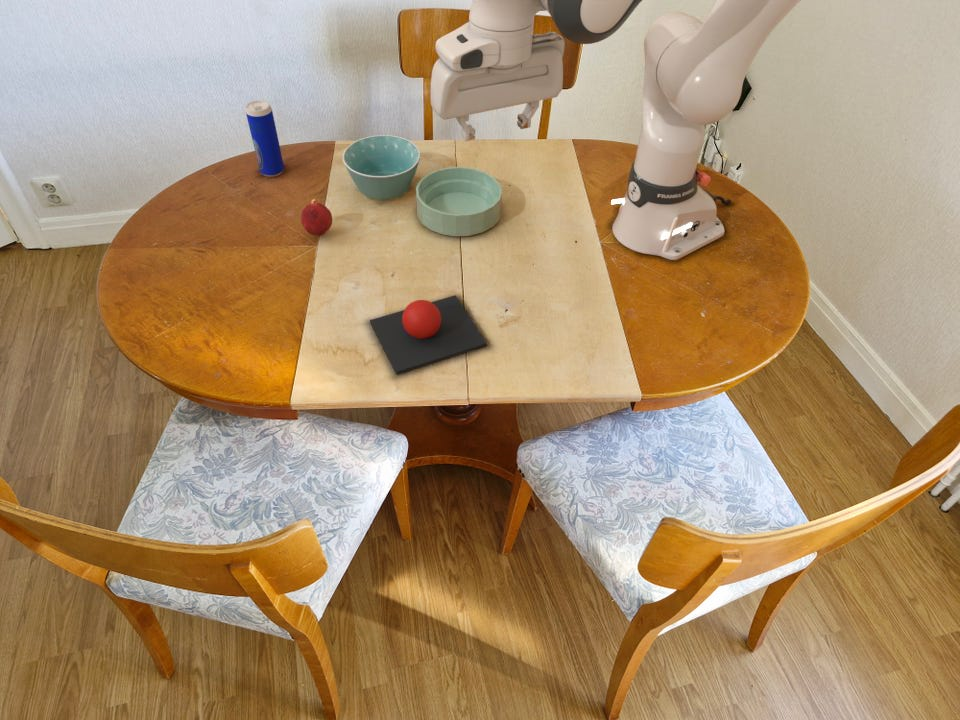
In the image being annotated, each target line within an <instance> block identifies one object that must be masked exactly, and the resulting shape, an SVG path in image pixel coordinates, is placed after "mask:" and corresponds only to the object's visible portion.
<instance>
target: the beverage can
mask: <svg viewBox="0 0 960 720" xmlns="http://www.w3.org/2000/svg"><path fill="white" fill-rule="evenodd" d="M245 115H246V119H247V123H248V127H249V132H250V137H251V140H252V144H253V149H254V152H255V157H256V161H257V165H258V169H259V172H260V173H261V174H262V175H263V176H265V177H268V178H274V177H278V176H280V175H281V174H283V172H284V170H285V164H284V161H283V155H282V151H281V146H280V142H279V137H278V136H279V135H278V132H277V127H276V122H275V117H274V112H273V108H272V106H271V104H270V103H269V102H268V101H266V100H261V99H260V100H253V101H250V102H249V103H247V104H246V105H245Z"/></svg>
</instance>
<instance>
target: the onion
mask: <svg viewBox="0 0 960 720" xmlns="http://www.w3.org/2000/svg"><path fill="white" fill-rule="evenodd" d="M300 223H301V225H302V227H303V229H304V230H305V231H306V232H307V233H309V234H310V235H313V236H316V237H321V236H323V235H325V234H326V233H327V232H329V230H330V229H331V227H332V225H333V215H332V212H331V210H330V209H329V208H328V207H327V206H326V205H325V204H323V203H321V202H319V201H318V199H316V198H313V199H311V201H310V203H309V204H307V205H306V206H304V208H303V210H302V211H301V215H300Z"/></svg>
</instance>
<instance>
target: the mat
mask: <svg viewBox="0 0 960 720" xmlns="http://www.w3.org/2000/svg"><path fill="white" fill-rule="evenodd" d="M430 302H431V303H433V304H434V305H435V306H436V307H437V308H438V310H439V311H440V314H441V325H440V327H439V329H438V331H437V332H436V333H435V334H434V335H433V336H431V337H429V338H425V339H418V338H415V337H413V336H411V335H410V334H408V333H407V331H406V330H405V328H404V326H403V322H402V316H403V312H404V310H405V309H404V310H400V311H397V312H393V313H389V314H386V315H383V316H378V317H375V318H373V319H370V320H369V324H370V326H371V328H372V330H373V332H374V333H375V336H376V338H377V340H378V342H379V344H380V346H381V347H382V350H383V351H384V353H385V355H386V358H387V359H388V361H389V364H390V365H391V367H392V369H393V371H394V372H395V375H396V376H398V375H401V374H404V373H408V372H411V371H414V370H417V369H420V368H422V367H426V366H429V365H432V364H435V363H439V362H442V361H446V360H449V359H451V358H454V357H457V356H461V355H464V354H468V353H470V352H473V351H475V350H479V349H483V348H486V347H487V346H488V342H487V341H486V339H485V338H484V336H483V335H482V333H481V331H480V330H479V329H478V328H477V325H476V324H475V323H474V321H473V320H472V318H471V316H470V315H469V313H468V312H467V311H466V308H464V306H463V304H462V302H461V301H460V300H459V298H458V297H457V295H451V296H448V297H445V298H441V299H438V300H435V301H430Z"/></svg>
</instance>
